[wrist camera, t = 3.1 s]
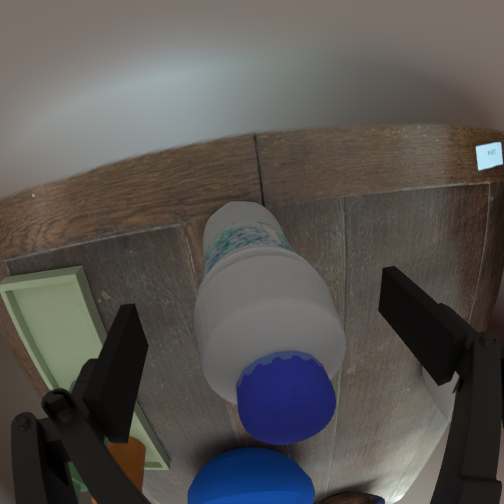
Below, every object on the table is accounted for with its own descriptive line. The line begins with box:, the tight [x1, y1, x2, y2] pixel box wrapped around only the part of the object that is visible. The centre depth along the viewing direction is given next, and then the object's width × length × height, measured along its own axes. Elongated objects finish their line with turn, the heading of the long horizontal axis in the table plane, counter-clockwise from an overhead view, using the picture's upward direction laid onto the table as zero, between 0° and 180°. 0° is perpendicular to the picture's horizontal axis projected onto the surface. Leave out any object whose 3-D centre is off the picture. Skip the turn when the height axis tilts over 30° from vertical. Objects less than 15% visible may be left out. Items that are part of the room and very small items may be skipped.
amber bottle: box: [92, 436, 146, 504], centre depth 28 cm, size 6×6×16 cm
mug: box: [422, 366, 459, 422], centre depth 34 cm, size 13×9×10 cm
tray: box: [0, 265, 170, 470], centre depth 31 cm, size 34×11×2 cm, turn 6°
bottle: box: [193, 201, 346, 445], centre depth 18 cm, size 7×7×20 cm
